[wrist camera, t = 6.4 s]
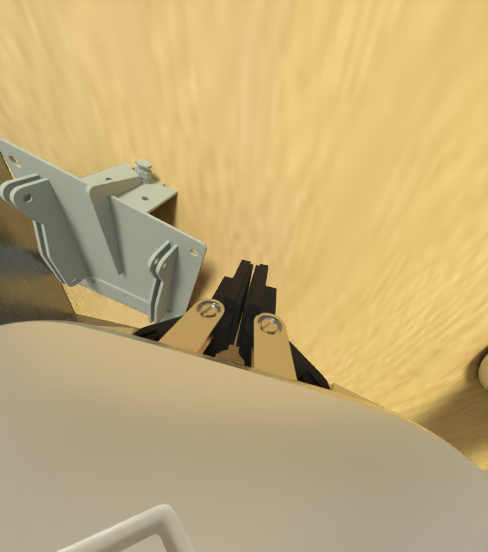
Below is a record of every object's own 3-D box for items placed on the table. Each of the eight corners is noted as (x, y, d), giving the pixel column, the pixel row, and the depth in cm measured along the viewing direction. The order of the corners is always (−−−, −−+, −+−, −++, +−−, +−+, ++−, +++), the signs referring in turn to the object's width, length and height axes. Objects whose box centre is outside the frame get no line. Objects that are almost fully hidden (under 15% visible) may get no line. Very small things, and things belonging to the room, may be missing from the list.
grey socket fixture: (160, 131, 10) (45, 88, 5) (177, 374, 23) (150, 432, 18) (-85, 88, 11) (-410, 9, 6) (66, 347, 24) (9, 395, 19)
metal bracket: (-148, 84, 6) (235, 277, 8) (32, 89, 10) (261, 217, 12) (41, 291, 17) (187, 355, 18) (93, 254, 21) (209, 309, 22)
